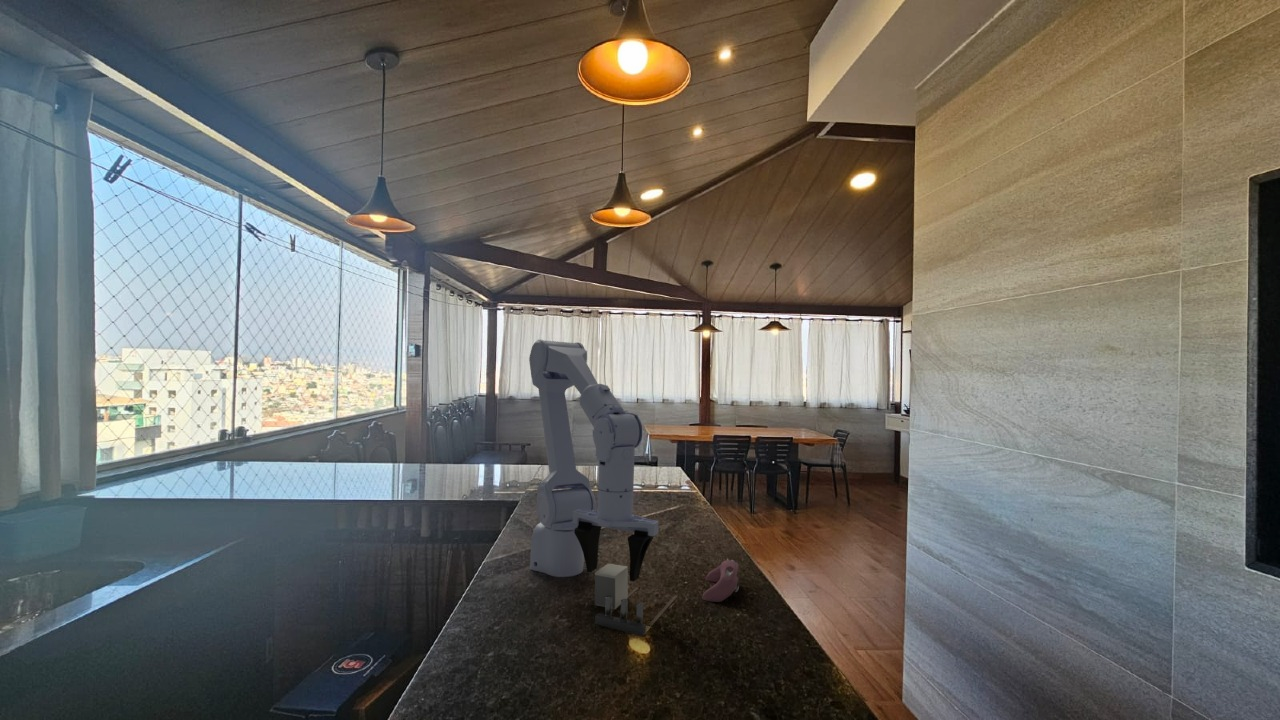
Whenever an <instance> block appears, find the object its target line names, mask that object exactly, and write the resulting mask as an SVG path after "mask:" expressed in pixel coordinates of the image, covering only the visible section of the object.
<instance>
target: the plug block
mask: <svg viewBox="0 0 1280 720" xmlns="http://www.w3.org/2000/svg"><path fill="white" fill-rule="evenodd" d="M628 585H629V567H628V566H626V565H620V564H614V563H606V564H605V565H604V566H603V567H600V568H599V569H598V570H597V571H595V572H594V606H597V607H603V608H605V600H606V596H608V595H610V596H612V609H615V610H617V607H618V606H619V605H620V604H621V599H627V598H628V594H629V592H628V591H629V587H628ZM628 599H629V598H628ZM628 599H627V600H628ZM620 606H621V605H620ZM620 606H619V607H620ZM619 607H618V608H619Z"/></svg>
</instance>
